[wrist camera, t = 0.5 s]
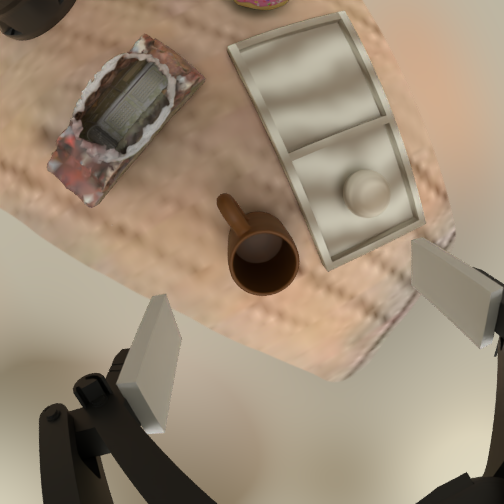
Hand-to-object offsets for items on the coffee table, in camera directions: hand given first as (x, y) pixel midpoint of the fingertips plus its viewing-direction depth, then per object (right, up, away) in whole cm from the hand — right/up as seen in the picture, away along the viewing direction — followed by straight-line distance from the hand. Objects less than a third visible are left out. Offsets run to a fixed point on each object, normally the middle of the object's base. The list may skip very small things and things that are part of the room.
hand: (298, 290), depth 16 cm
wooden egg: (+11, +10, +24) cm, 28 cm away
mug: (-3, +5, +26) cm, 26 cm away
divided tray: (+8, +17, +22) cm, 29 cm away
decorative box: (-16, +17, +21) cm, 31 cm away
